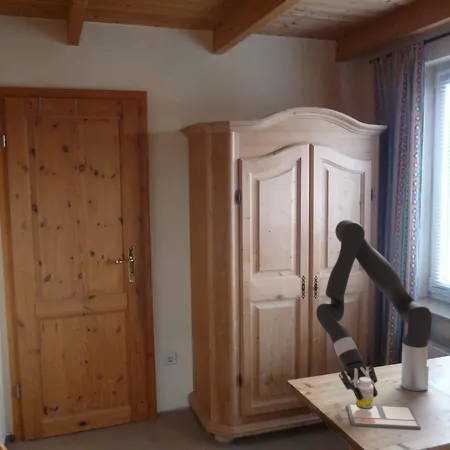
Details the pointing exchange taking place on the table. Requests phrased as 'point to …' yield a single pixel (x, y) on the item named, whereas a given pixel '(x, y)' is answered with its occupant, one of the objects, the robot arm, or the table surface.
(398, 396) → the table surface
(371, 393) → the supplement bottle
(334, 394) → the table surface
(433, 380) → the table surface
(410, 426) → the board
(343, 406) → the table surface
